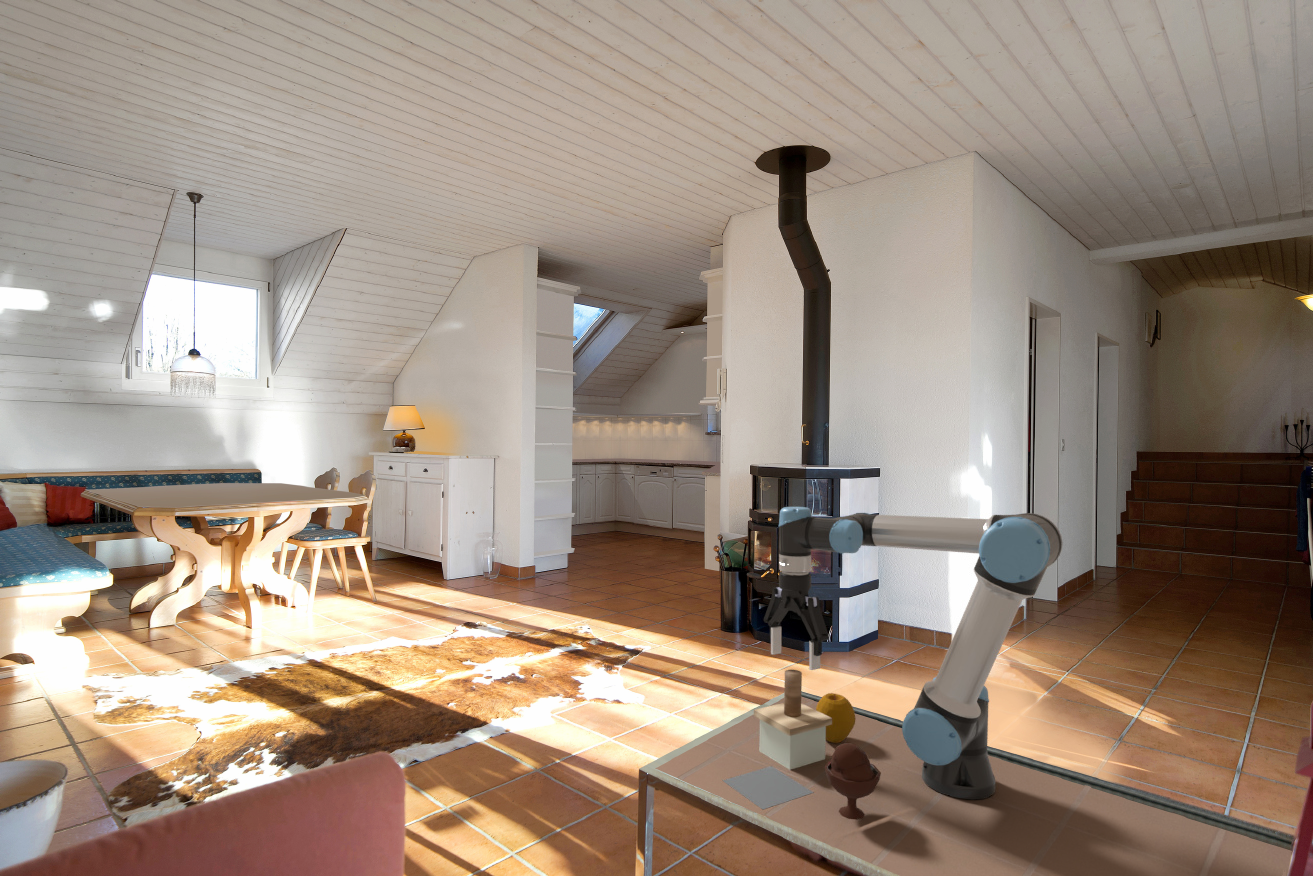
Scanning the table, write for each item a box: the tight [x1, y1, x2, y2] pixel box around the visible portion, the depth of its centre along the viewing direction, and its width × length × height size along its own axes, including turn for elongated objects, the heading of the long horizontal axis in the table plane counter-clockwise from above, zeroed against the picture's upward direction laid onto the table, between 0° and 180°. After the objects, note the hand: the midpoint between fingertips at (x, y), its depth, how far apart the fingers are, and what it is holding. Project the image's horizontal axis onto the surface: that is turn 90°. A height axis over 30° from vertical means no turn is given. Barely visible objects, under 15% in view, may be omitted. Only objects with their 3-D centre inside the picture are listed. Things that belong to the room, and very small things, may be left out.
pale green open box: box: [758, 719, 827, 771], centre depth 175 cm, size 11×11×9 cm
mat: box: [722, 765, 815, 810], centre depth 160 cm, size 14×14×1 cm
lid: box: [753, 669, 832, 736], centre depth 175 cm, size 13×13×12 cm
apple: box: [815, 692, 856, 744], centre depth 185 cm, size 10×10×12 cm
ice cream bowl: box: [824, 742, 882, 821], centre depth 149 cm, size 11×11×15 cm
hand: (794, 661), depth 174 cm, fingers open, 13 cm apart
